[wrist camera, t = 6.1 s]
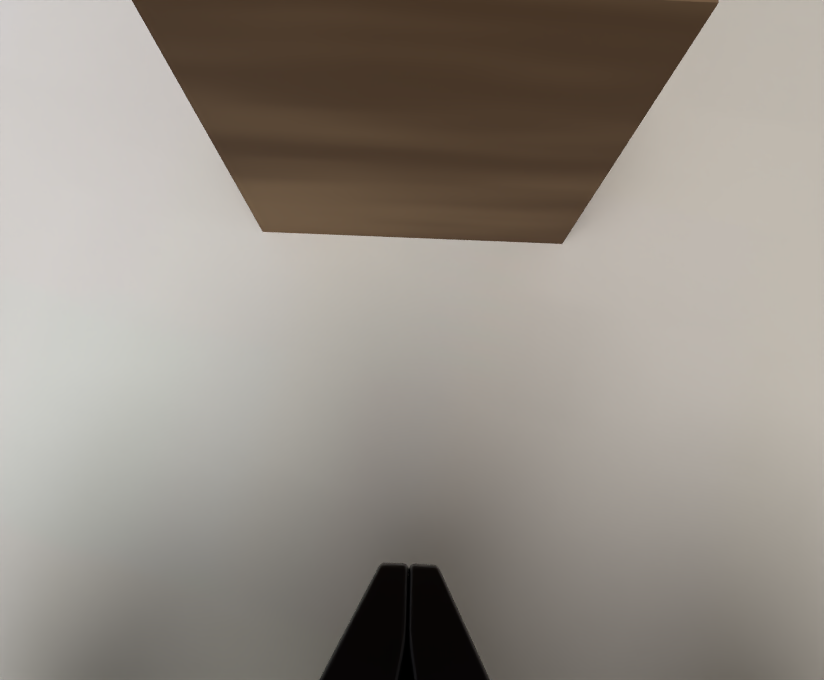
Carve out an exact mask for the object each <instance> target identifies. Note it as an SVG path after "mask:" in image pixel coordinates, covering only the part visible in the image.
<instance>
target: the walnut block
mask: <svg viewBox="0 0 824 680" xmlns="http://www.w3.org/2000/svg"><path fill="white" fill-rule="evenodd" d="M132 1H133V3H134V5H135V7H136V8H137V10H138V12H139V14H140V16H141V17H142V19H143V21H144V23H145V24H146V26H147V28H148V30H149V31H150V33H151V35H152V37H153V38H154V40H155V42H156V44H157V46H158V47H159V49H160V51H161V53H162V54H163V56H164V58H165V60H166V61H167V63H168V65H169V67H170V69H171V70H172V72H173V74H174V76H175V77H176V79H177V81H178V83H179V84H180V86H181V88H182V90H183V91H184V93H185V95H186V97H187V99H188V100H189V102H190V104H191V106H192V107H193V109H194V111H195V113H196V114H197V116H198V118H199V120H200V122H201V123H202V125H203V127H204V129H205V130H206V132H207V134H208V136H209V137H210V139H211V141H212V143H213V144H214V146H215V148H216V150H217V152H218V153H219V155H220V157H221V159H222V160H223V162H224V164H225V166H226V167H227V169H228V171H229V173H230V175H231V176H232V178H233V180H234V182H235V183H236V185H237V187H238V189H239V190H240V192H241V194H242V196H243V197H244V199H245V201H246V203H247V205H248V206H249V208H250V210H251V212H252V213H253V215H254V217H255V219H256V220H257V222H258V224H259V226H260V227H261V229H262V231H263V232H283V233H308V234H332V235H357V236H382V237H407V238H432V239H456V240H481V241H506V242H531V243H555V244H562V243H563V242H564V240H565V238H566V237H567V235H568V234H569V232H570V231H571V229H572V228H573V226H574V225H575V223H576V221H577V220H578V218H579V217H580V215H581V214H582V212H583V211H584V209H585V208H586V206H587V205H588V203H589V201H590V200H591V198H592V197H593V195H594V194H595V192H596V191H597V189H598V188H599V186H600V185H601V183H602V181H603V180H604V178H605V177H606V175H607V174H608V172H609V171H610V169H611V168H612V166H613V164H614V163H615V161H616V160H617V158H618V157H619V155H620V154H621V152H622V151H623V149H624V148H625V146H626V144H627V143H628V141H629V140H630V138H631V137H632V135H633V134H634V132H635V131H636V129H637V128H638V126H639V124H640V123H641V121H642V120H643V118H644V117H645V115H646V114H647V112H648V111H649V109H650V107H651V106H652V104H653V103H654V101H655V100H656V98H657V97H658V95H659V94H660V92H661V91H662V89H663V87H664V86H665V84H666V83H667V81H668V80H669V78H670V77H671V75H672V74H673V72H674V70H675V69H676V67H677V66H678V64H679V63H680V61H681V60H682V58H683V57H684V55H685V54H686V52H687V50H688V49H689V47H690V46H691V44H692V43H693V41H694V40H695V38H696V37H697V35H698V34H699V32H700V30H701V29H702V27H703V26H704V24H705V23H706V21H707V20H708V18H709V17H710V15H711V13H712V12H713V10H714V9H715V7H716V6H717V4H718V3H719V2H718V0H132Z"/></svg>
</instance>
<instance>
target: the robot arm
mask: <svg viewBox="0 0 824 680" xmlns="http://www.w3.org/2000/svg"><path fill="white" fill-rule="evenodd" d="M319 680H490V679H489V677H488V675H487V672H486V670H485V668H484V666H483V664H482V661H481V659H480V657H479V655H478V653H477V651H476V648H475V646H474V644H473V642H472V640H471V637H470V635H469V633H468V631H467V629H466V626H465V624H464V622H463V620H462V618H461V615H460V613H459V611H458V609H457V607H456V604H455V602H454V600H453V598H452V596H451V593H450V591H449V589H448V587H447V585H446V582H445V580H444V578H443V576H442V574H441V572H440V570H439V568H438V567H437V566H436V565H429V564H413V565H411V566H410V568H408V566H407V565H406V564H403V563H383V564H381V565H380V566H379V567H378V569H377V571H376V573H375V575H374V577H373V579H372V580H371V582H370V584H369V586H368V588H367V590H366V592H365V594H364V596H363V598H362V599H361V601H360V603H359V605H358V607H357V609H356V611H355V613H354V615H353V617H352V619H351V620H350V622H349V624H348V626H347V628H346V630H345V632H344V634H343V636H342V638H341V639H340V641H339V643H338V645H337V647H336V649H335V651H334V653H333V655H332V657H331V658H330V660H329V662H328V664H327V666H326V668H325V670H324V672H323V674H322V676H321V678H320V679H319Z"/></svg>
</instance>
